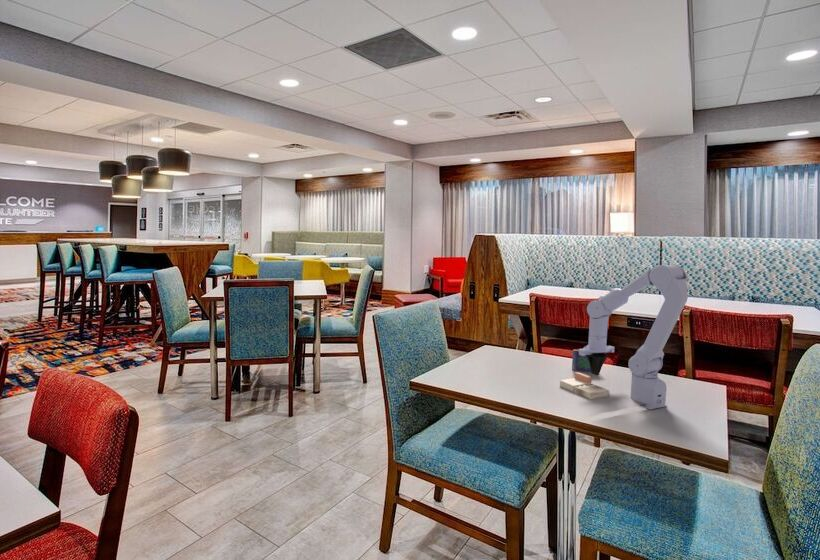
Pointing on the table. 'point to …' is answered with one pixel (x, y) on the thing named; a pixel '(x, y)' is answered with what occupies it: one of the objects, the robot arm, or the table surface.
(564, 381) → the cream block with bar
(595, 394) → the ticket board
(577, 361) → the flask
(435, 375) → the table surface
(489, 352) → the table surface
